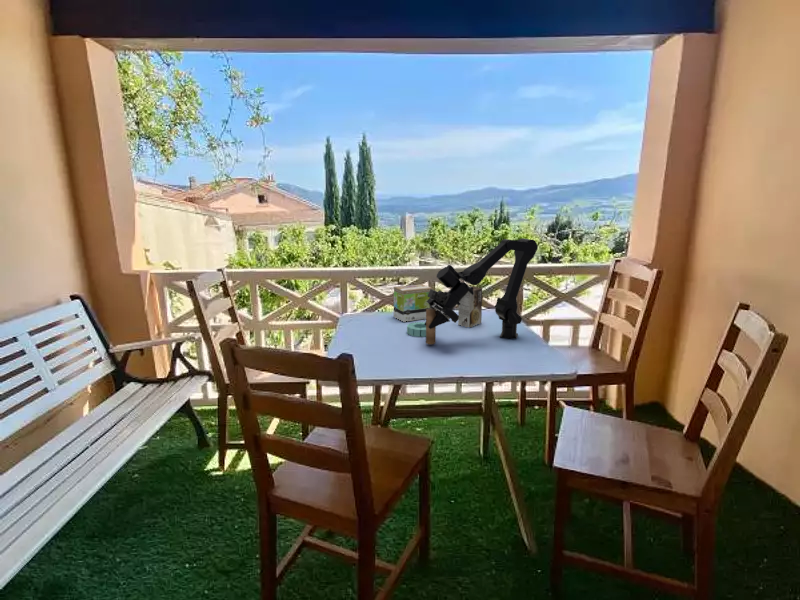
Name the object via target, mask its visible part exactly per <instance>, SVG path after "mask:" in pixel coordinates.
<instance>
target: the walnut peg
mask: <svg viewBox="0 0 800 600" xmlns="http://www.w3.org/2000/svg"><path fill="white" fill-rule="evenodd" d="M435 316H436V309H432V308H430V309H426V319H425V322H426V337H425V344H426V345H435V344H436V341H437V340H436V334H437V333H436V332H437V331H436V329H437V328H436V327H437V326H436V327H434V328H431V329H430V328H429V325H430V323H431V322H432V321H433V319H434V318H435Z"/></svg>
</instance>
